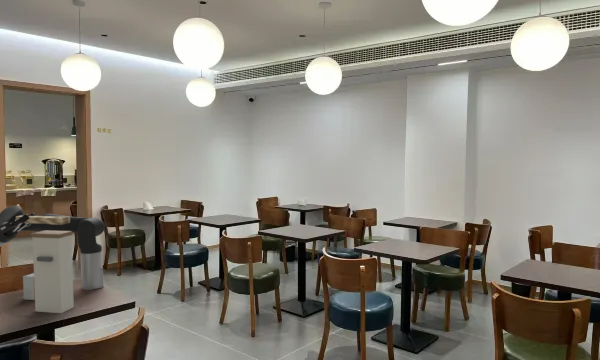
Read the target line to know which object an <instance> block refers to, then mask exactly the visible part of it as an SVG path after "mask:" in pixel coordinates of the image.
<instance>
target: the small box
mask: <svg viewBox="0 0 600 360" xmlns="http://www.w3.org/2000/svg"><path fill="white" fill-rule="evenodd" d="M22 283H23V285H22V287H23V300H27V301H28V300H29V301H30V300H31V301H35V285H34V272H31V273H30V274H27V275H23V276H22Z"/></svg>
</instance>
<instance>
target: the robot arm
mask: <svg viewBox="0 0 600 360" xmlns="http://www.w3.org/2000/svg"><path fill="white" fill-rule="evenodd" d="M16 216H22V217H21V218H18V219H16ZM29 216H37V215H36V213H35V212H31V214H28V213H26V214H25V212H24V209H23V208H22V207H21V206H19V205H12V206H8V207H6V208H4V209H2V211H1V212H0V247H2V246H5V245H6V244H7V243H9V242H11V241H12V240H13V239H15V238H16V237H18V236H17V235H18V234H19V232H23V231H25V232H28V231H29V232H40V231H45V230H51V231H72V233H76V236H77V245H78V247H79V250H80V253H79V254H80V272H81V274H80V276H81V279H80V280H81V290H86V291H88V290H89V291H90V290H91V291H92V290H97V289H98V290H99V289H100V288H104V267H103V251H102V249H103V247H102V245H101V244H99V243H98V242H97V237H98V236H100V235H102V234H103V233H104V232H105V229H106V224H105V222H104V221H103V220H102V219H100V217H99V218H98V217H78V216H71V215H66V214H65V215H64V214H59V213H58V214H57V213H45V214H41V216H51V217H59V216H64V217H70V223H67V224H62V225H55V224H40V223H24V222H25V221H27V220H28V219H29Z"/></svg>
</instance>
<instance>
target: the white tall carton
mask: <svg viewBox="0 0 600 360" xmlns="http://www.w3.org/2000/svg"><path fill="white" fill-rule="evenodd" d="M72 235H73V232H72V231H51V230H45V231H40V232H38V231H35V232H32V233H31V234H30V237H31V238H32V255H33V256H32V257H33V259H32V261H33V273H34V285H35V300H34V301H35V303H34V304H35V305H34V306H35V308H34V309H35V312H38V313H39V312H41V313H51V314H52V313H53V314H54V313H55V314H63V313H65V312H67V311H69V310H71V309H73V308H74V307H75V305H74V303H75V302H74V301H75V299H74V279H73V278H74V277H73V276H74V275H73V256H72V255H73V251H72V247H73V246H72Z"/></svg>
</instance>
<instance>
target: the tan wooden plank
mask: <svg viewBox="0 0 600 360" xmlns="http://www.w3.org/2000/svg"><path fill="white" fill-rule="evenodd" d="M28 216H29V215H28ZM21 217H22V216H16V219H18V218H21ZM24 223H40V224H55V225H62V224H67V223H70V217H64V216H59V217H51V216H42V215H36V216H29V219H28V220H27V221H25V222H24Z"/></svg>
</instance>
